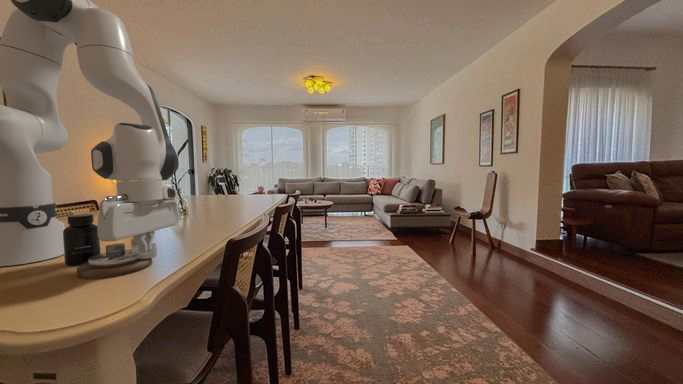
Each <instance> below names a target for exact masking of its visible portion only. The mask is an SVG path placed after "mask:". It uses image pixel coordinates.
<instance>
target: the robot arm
mask: <svg viewBox="0 0 683 384" xmlns="http://www.w3.org/2000/svg"><path fill="white" fill-rule="evenodd" d="M10 1H11V3H12V5H14V6H15V8H16V9H15V10H13V11H12V12H11V13H10V15H9V17H8V19H7V21H6V23H5V25H4V28H3V30H2V32H1V36H0V88H2V91H3V93H4V96H5V100H6V105H4V104H3V105H2V104H0V267H7V266H9V267H10V266H16V265H25V264H31V263H36V262H40V261H45V260H46V261H47V260H49V259H53V258H57V257H60V256H62V255H63V256H64V243H63V231H64V229H65V228H66V227H65V224H64V222H63V221H61V220H59V219H58V218H57V216H58V208H57V205H56V203H55V202H54V191H53V182H52V181H53V180H52V175H51V174H50V173H49V172H48V170H46V169H45V168H44V167H43V166H42V164H40V162H39V159H38V158H37V156H36V154H43V153H49V152H54V151H58V150H61V149H62V148H63V147H65V145H67V143H68V141H69V140H68V139H69V134H68V130H67V128H66V127H65V125H64V124H63V122H62V120H61V118H60V113H59V106H58V97H57V96H58V89H59V88H58V87H59V83H60V82H59V81H60V75H61V70H62V65H63V62H64V61H63V60H64V53H65V50H66V48H67V47H68V46H70V45H72V44H74V45H75V46H76V53H77V60H78V65H79V69H80V72H81V74H82V76H83V77H84V79H85V81H87V82H88V83H89V84H90V85H91V86H92V87H93V88H95V89H96V90H97V91H99V92H101V93H103V94H105V95H107V96H109V97H111V98H113V99H116V100H118V101H119V102H122V103H124V104H125V105H127V106H129V107H130V108H132V109H133V110H134V111H135V112H136V113H137V115H138V116H139V118H140V121H141V124H138V123H131V122H129V123H128V122H119V123H116V124H115V125H114V127H113V132H112V136H110V137H109V138H108V139H106V140H105V141H104V140H103V141H100V142H99V143H97V144H96V145H95V146H93V147H92V148H91V150H90V157H91V158H90V160H91V168H92V171H93V172H94V173H95V174H96V175H98V176H99V177H101V178H102V179H104V180H110V181H111V180H112V181H115V184H116V195H108V196H105V197H104V199H101V202H99V211H98V214H97V215H98V216H97V226H98V227H97V232H98V238H99V239H100V242H117V241H121V240H125V239H129V238H132V239H134V241H135V242H136V244H137V245H138V248H139V252H140V253H145V252H148V251H151V250H152V246H151V244H153V240H154V238H155V235H156V234H155V231H160V230H163V229H166V228H170V227H174V226H177V224H178V223H179V218H180V217H179V216H180V215H179V203H178V200H177V198H178V190H177V189H176V188H173V187H170V186H168V185H166V184H163V181H168V180H169V179H170V178H172V176H174V174H175V173H176V172H177V171H178V169H179V164H180V163H179V162H180V161H179V157H178V154H177V151H176V150H175V148H174V146H173V143H172V142H171V139H170V136H169V133H168V130H167V127H166V123H165V120H164V118H163V114H162V111H161V108H160V105H159V101H158V98H157V97H156V94H155V92H154V90H153V88H152V87H151V86H150V85H148V83H146V82H145V80H144V79H143V77H142V76H141V75H140V73H139V71H138V69H137V66H136V64H135V58H134V57H135V56H134V53H133V48H132V43H131V40H130V37H129V34H128V31H127V28H126V26H125V24H124V22H123V21H122V20H121V19H120V17H119V16H117V15H116V14H114V13H113V12H111V11H109V10H106V9H104V8H101V7H99V6H98V5H97V4H95V3H94V2H93V1H92V0H10Z"/></svg>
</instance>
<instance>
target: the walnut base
mask: <svg viewBox="0 0 683 384" xmlns="http://www.w3.org/2000/svg"><path fill="white" fill-rule="evenodd" d="M130 241H131V242H130V243H131V248H132V247H133V246H134V245H137V244H136V242H135V241H134V239H133V238H131V239H130ZM152 264H153V258H147V259H139V260H137V261H134V262H131V263H127V264H123V265H118V266H111V267H90V266H89V265H88V262H86V263H84V264H82V265H80V266H77V268H76V277H78V278H79V279H83V280H102V279H111V278H116V277H122V276H126V275H129V274H133V273H137V272H140V271H143V270H144V269H147V268H149V267H151V265H152Z"/></svg>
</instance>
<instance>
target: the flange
mask: <svg viewBox="0 0 683 384" xmlns="http://www.w3.org/2000/svg"><path fill="white" fill-rule="evenodd" d="M151 246H152V250H151V251H148V252H145V253H140V252H139V248H138V245H134V246H133V247H132V246H131V249H126V244H125V243H121V242H120V243H112V244H108V245H106V246H105V252H104V253H100V254H98V255H95V256H92V257H90V258H89V259H88V265H89V266H90V267H111V266H118V265H123V264H127V263H131V262H134V261H137V260H139V259H147V258H152V259H155V258H156V257H157V256H158V252H157V251H158V250H157V249H158V247H157V242H156V243H153V242H152V243H151Z"/></svg>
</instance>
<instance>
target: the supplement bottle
mask: <svg viewBox="0 0 683 384" xmlns="http://www.w3.org/2000/svg"><path fill="white" fill-rule="evenodd" d="M94 222H95V220H94V214H92V213H85V214H84V213H83V214H82V213H80V214H72V215H68V216H67V224H68V226H67V227H64V228H65V229H64V231H63V243H64V254H63V256H64V264H65V266H68V267H76V266H77V267H78V266H80V265H82V264H84V263H86V262H88V259H89V258H90V257H92V256H95V255H98V254H101V240H100V239H99V238H98V232H97V227H98V224H97V225H96V224H95V223H94Z"/></svg>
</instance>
